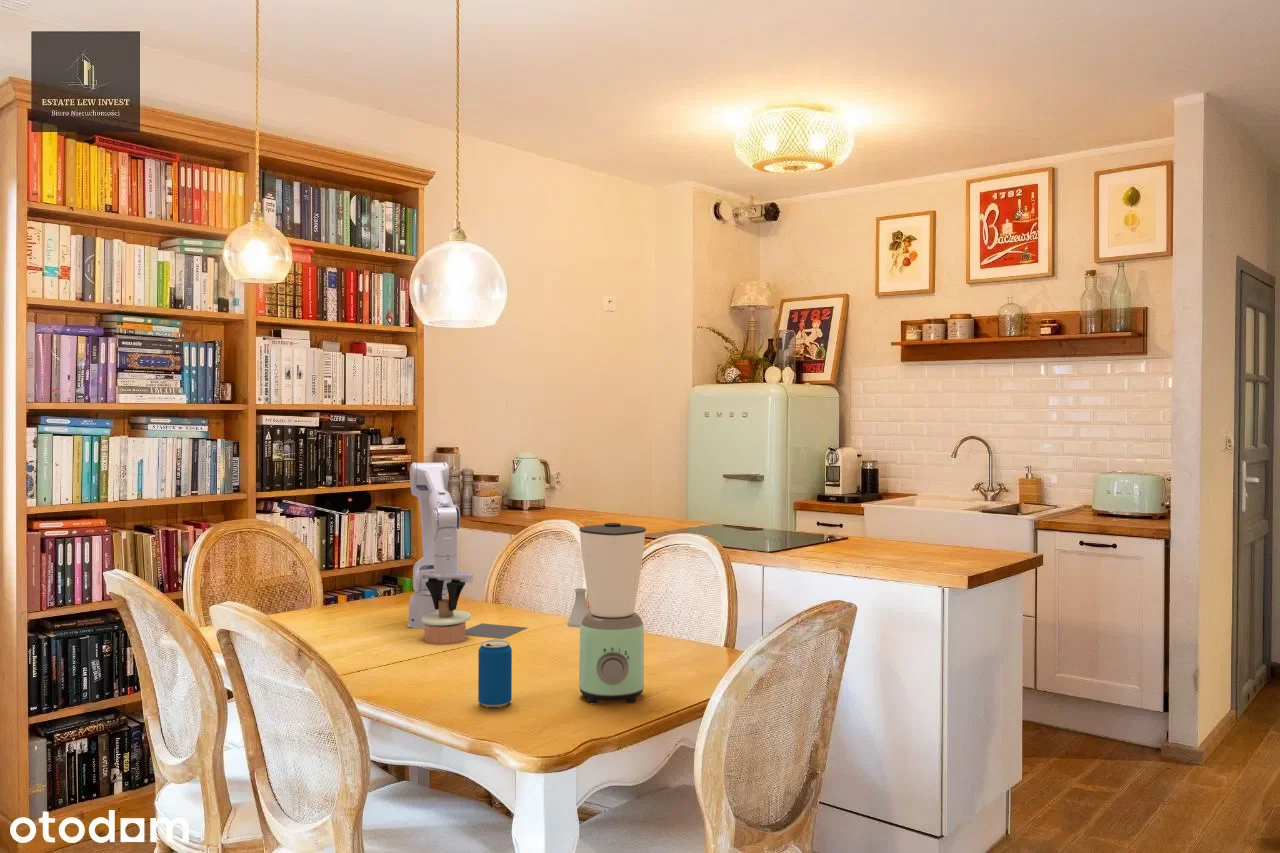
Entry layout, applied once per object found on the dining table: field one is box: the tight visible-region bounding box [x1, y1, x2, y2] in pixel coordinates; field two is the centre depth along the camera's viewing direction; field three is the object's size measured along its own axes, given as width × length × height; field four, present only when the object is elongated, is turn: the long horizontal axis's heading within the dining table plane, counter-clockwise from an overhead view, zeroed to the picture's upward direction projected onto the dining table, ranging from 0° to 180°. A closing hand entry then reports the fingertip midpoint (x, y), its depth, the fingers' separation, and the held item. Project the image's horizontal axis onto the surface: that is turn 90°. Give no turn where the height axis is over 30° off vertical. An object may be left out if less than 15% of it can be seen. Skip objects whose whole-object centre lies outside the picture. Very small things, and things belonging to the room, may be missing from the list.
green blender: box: [578, 522, 647, 704], centre depth 202 cm, size 19×13×35 cm
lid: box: [422, 598, 471, 626], centre depth 249 cm, size 12×12×5 cm
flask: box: [567, 587, 590, 628], centre depth 268 cm, size 7×7×10 cm
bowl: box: [424, 621, 467, 645], centre depth 249 cm, size 10×10×4 cm
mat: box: [466, 623, 528, 640], centre depth 259 cm, size 14×14×1 cm
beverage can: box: [477, 639, 513, 708], centre depth 195 cm, size 6×6×12 cm
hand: (445, 609), depth 249 cm, fingers closed on lid, 4 cm apart
